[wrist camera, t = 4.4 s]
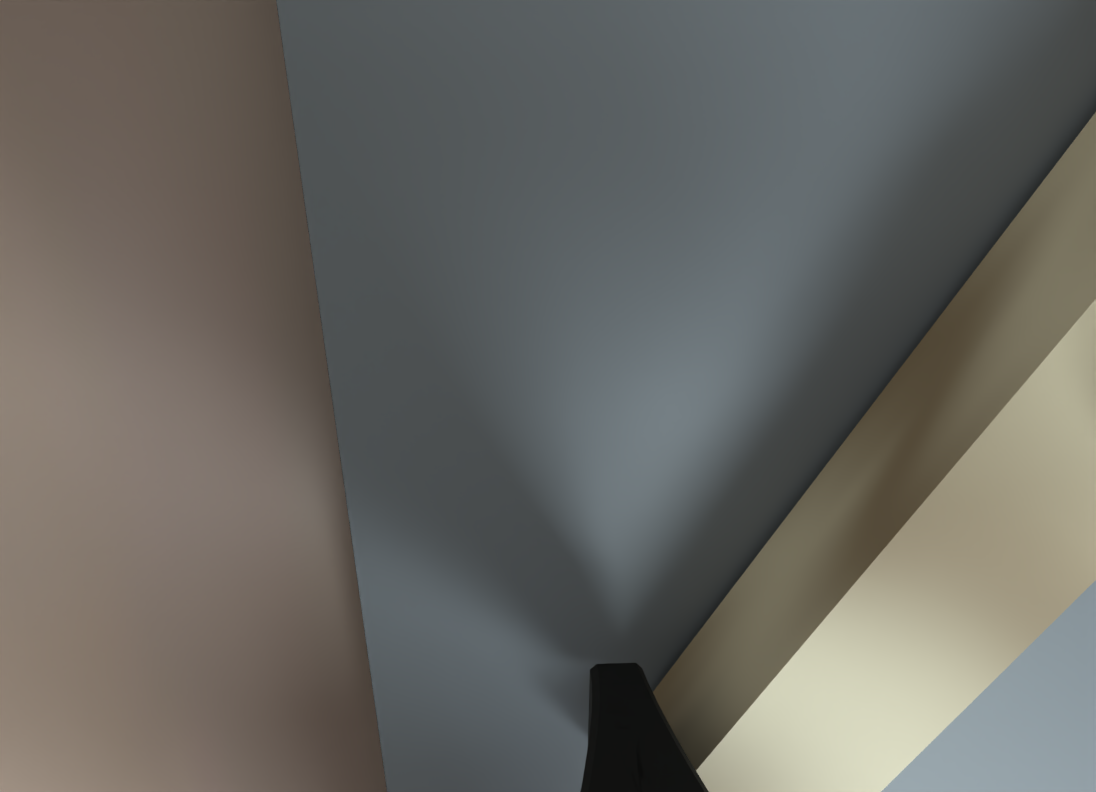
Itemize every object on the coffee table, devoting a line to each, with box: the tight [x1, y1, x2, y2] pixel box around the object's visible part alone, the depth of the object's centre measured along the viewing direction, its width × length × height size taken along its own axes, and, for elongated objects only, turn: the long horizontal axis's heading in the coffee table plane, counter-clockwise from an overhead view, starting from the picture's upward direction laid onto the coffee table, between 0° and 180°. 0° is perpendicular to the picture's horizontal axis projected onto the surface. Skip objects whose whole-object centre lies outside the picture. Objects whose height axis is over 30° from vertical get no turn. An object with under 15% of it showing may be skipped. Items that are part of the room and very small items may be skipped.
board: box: [276, 0, 1096, 792], centre depth 11 cm, size 21×18×1 cm
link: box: [653, 112, 1096, 792], centre depth 9 cm, size 18×4×3 cm, turn 153°
